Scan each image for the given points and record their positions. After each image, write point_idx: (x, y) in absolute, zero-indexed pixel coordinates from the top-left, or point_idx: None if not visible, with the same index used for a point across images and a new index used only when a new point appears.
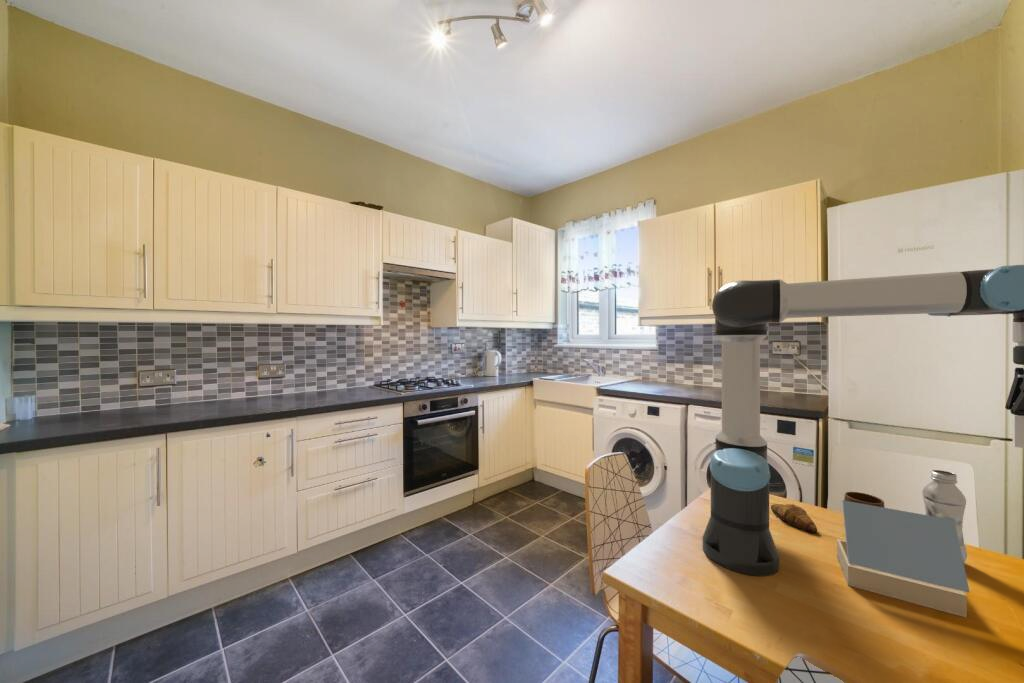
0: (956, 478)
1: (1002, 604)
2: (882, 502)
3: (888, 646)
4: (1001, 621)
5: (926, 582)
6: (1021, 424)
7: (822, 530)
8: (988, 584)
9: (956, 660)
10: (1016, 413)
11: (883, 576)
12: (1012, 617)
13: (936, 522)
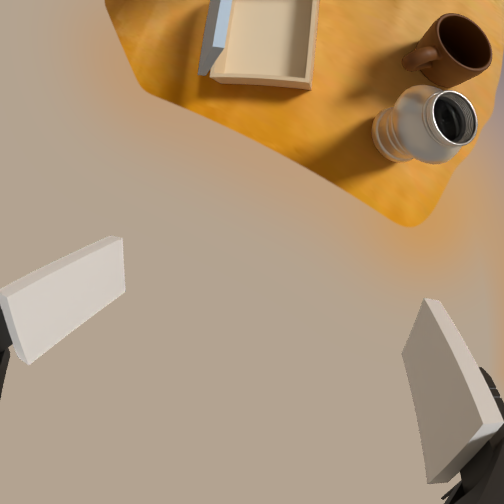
0: (439, 139)
1: (279, 141)
2: (455, 60)
3: (139, 15)
4: (231, 117)
5: (288, 68)
6: (448, 400)
7: (412, 5)
8: (335, 156)
9: (141, 55)
10: (498, 446)
11: None
12: (248, 135)
13: (214, 26)
